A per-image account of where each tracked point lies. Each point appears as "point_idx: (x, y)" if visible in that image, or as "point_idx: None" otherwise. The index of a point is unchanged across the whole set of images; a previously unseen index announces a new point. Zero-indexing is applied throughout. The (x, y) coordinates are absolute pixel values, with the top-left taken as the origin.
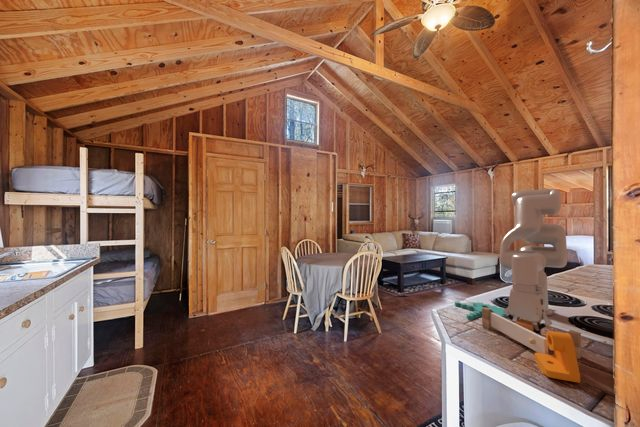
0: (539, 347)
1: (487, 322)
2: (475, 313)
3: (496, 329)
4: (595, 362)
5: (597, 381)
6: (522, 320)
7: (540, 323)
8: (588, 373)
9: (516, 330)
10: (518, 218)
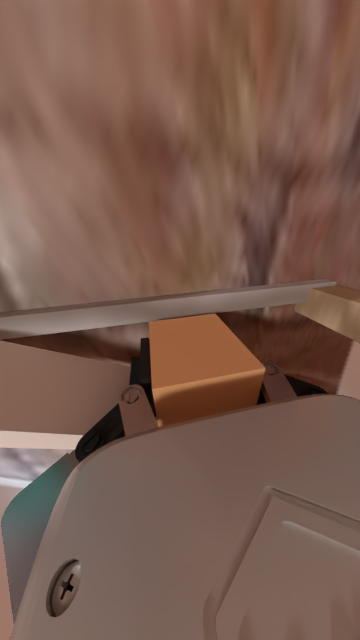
0: None
1: None
2: None
3: (27, 333)
4: (351, 286)
5: (330, 376)
6: (181, 415)
7: (291, 390)
8: (322, 362)
9: None
10: None
